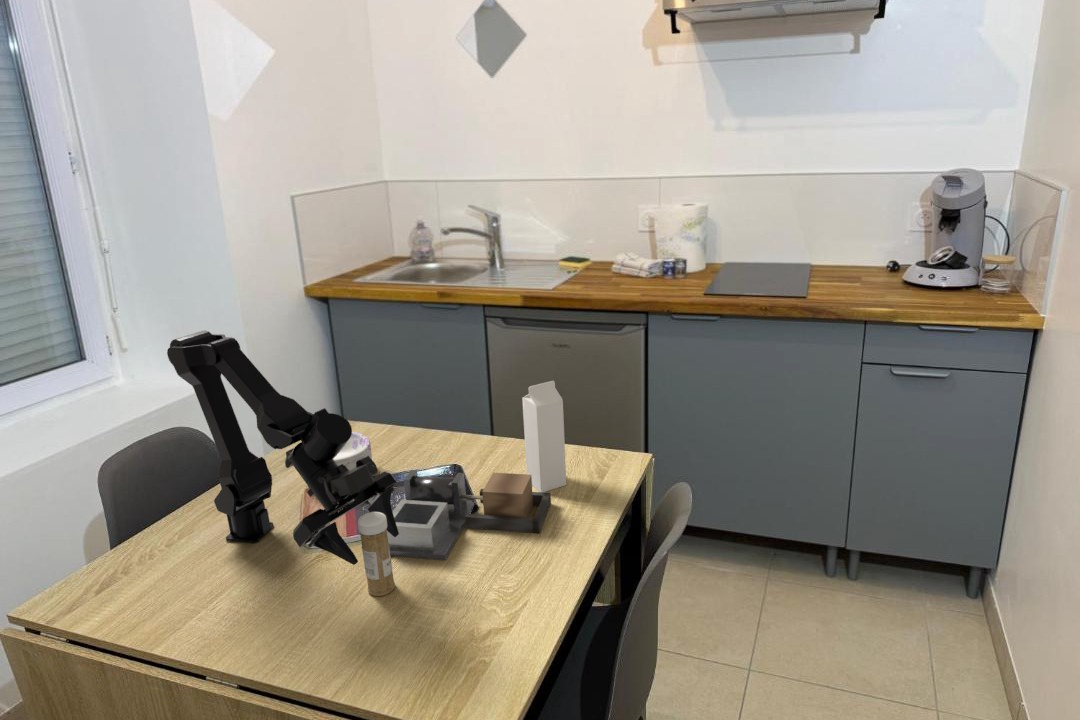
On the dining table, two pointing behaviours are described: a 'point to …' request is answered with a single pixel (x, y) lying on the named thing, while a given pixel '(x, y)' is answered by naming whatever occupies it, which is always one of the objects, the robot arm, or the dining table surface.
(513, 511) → the crate bay
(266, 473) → the robot arm
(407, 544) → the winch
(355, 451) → the paper bowls
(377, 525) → the sprinkles bottle
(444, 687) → the dining table surface
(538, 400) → the milk
